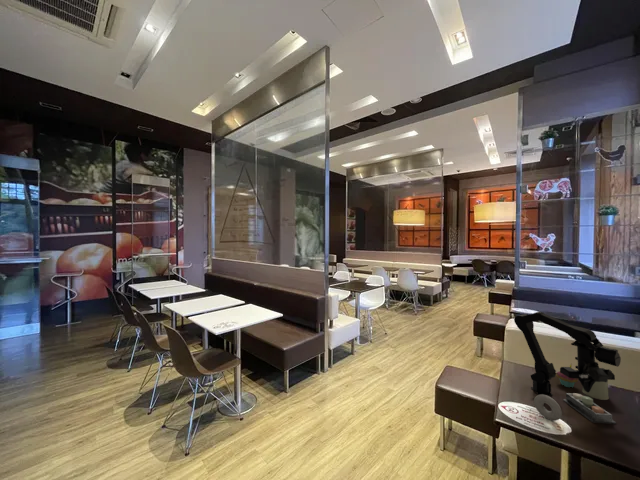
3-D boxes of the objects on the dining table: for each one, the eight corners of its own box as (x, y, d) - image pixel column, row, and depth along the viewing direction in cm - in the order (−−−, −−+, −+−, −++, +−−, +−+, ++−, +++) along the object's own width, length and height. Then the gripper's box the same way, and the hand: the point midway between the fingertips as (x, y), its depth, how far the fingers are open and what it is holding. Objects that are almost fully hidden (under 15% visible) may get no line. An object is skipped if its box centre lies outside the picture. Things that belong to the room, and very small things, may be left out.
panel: (592, 422, 113) (592, 413, 113) (563, 400, 128) (562, 393, 129) (616, 424, 112) (615, 415, 112) (583, 401, 127) (583, 394, 127)
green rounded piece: (586, 408, 119) (586, 400, 119) (579, 403, 122) (579, 395, 122) (595, 408, 118) (595, 400, 118) (588, 403, 122) (588, 396, 122)
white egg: (577, 404, 123) (577, 397, 124) (571, 400, 127) (570, 392, 127) (585, 405, 123) (585, 397, 123) (579, 400, 127) (579, 393, 127)
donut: (532, 413, 120) (531, 390, 120) (536, 410, 121) (536, 389, 121) (559, 427, 110) (558, 403, 111) (564, 424, 112) (563, 401, 112)
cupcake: (572, 382, 145) (571, 360, 145) (582, 390, 136) (581, 367, 137) (553, 380, 147) (552, 358, 147) (561, 388, 139) (560, 365, 139)
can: (614, 400, 128) (613, 375, 129) (595, 400, 129) (594, 375, 129) (595, 389, 138) (594, 366, 138) (577, 389, 138) (576, 366, 138)
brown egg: (597, 418, 114) (596, 410, 114) (589, 413, 117) (589, 405, 117) (606, 419, 113) (606, 411, 113) (598, 414, 117) (598, 406, 117)
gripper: (578, 364, 114) (580, 401, 113) (627, 366, 112) (628, 403, 111) (558, 354, 125) (559, 387, 124) (602, 355, 123) (603, 389, 122)
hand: (587, 391), depth 120 cm, fingers closed
